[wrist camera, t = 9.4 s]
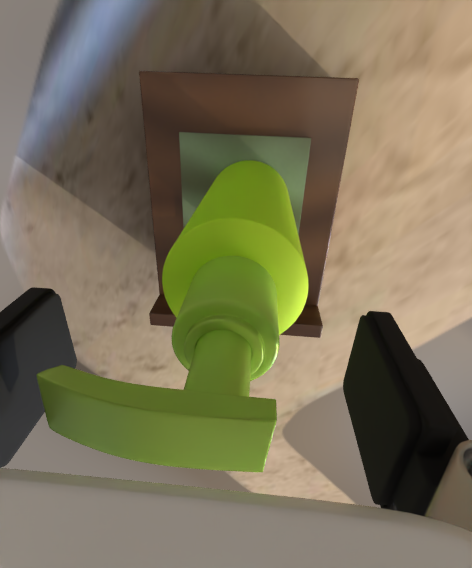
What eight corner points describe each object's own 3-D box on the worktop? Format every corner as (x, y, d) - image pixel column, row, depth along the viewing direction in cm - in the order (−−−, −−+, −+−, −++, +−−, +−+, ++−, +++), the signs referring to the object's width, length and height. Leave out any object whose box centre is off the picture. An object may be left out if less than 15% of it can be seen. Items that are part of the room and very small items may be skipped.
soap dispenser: (198, 152, 23) (-3, 311, 6) (296, 166, 23) (387, 367, 6) (193, 231, 26) (49, 494, 9) (280, 243, 26) (310, 533, 9)
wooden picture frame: (167, 77, 28) (120, 66, 19) (337, 83, 27) (373, 75, 18) (178, 270, 36) (150, 325, 28) (307, 278, 36) (320, 338, 27)
